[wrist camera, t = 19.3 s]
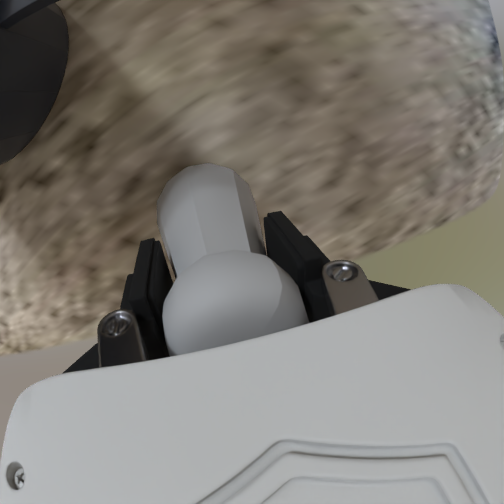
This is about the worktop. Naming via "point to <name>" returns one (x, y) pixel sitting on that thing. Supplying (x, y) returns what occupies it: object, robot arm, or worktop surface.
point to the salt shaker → (220, 264)
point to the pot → (29, 69)
